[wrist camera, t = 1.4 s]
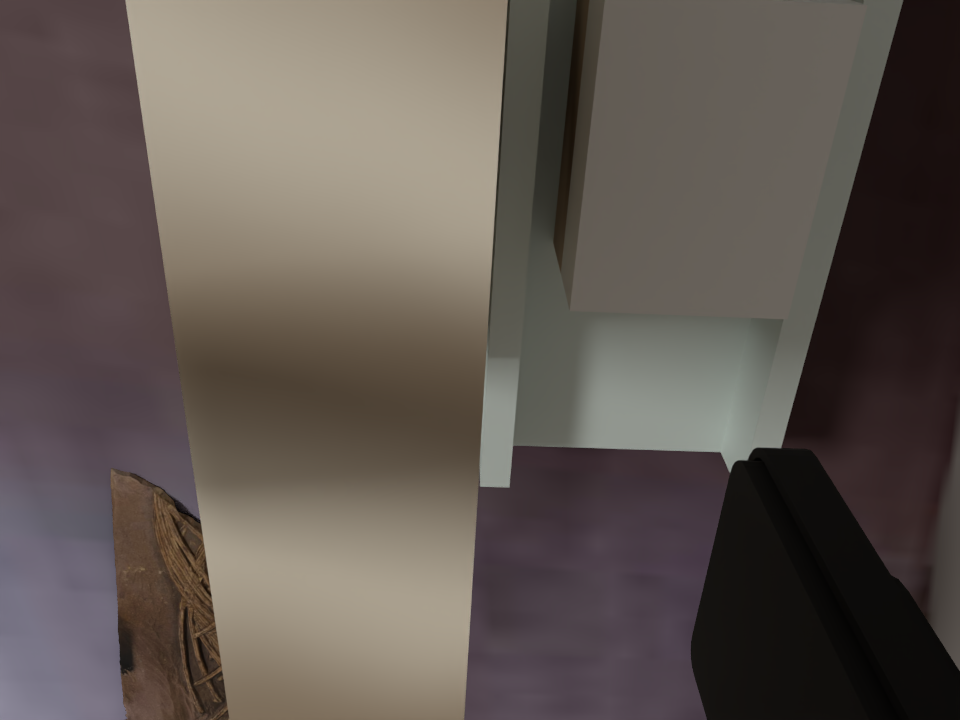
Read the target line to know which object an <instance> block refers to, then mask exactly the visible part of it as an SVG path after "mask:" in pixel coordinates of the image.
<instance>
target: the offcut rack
mask: <svg viewBox="0 0 960 720" xmlns="http://www.w3.org/2000/svg"><path fill="white" fill-rule="evenodd" d="M851 1H855V2H858V3H861V4H864V5H867V9H866V13H865V17H864V21H863V25H862V29H861V33H860V37H859V41H858V45H857V49H856V52H855V56H854V60H853V64H852V68H851V72H850V76H849V80H848V84H847V88H846V92H845V96H844V100H843V104H842V107H841V111H840V115H839V119H838V123H837V127H836V131H835V135H834V139H833V143H832V147H831V151H830V155H829V159H828V162H827V166H826V170H825V174H824V178H823V182H822V186H821V190H820V194H819V198H818V202H817V206H816V210H815V213H814V217H813V221H812V225H811V229H810V233H809V237H808V241H807V245H806V249H805V253H804V257H803V261H802V265H801V268H800V272H799V276H798V280H797V284H796V288H795V292H794V296H793V300H792V304H791V308H790V312H789V316H788V319H764V318H738V317H712V316H686V315H660V314H634V313H608V312H581V311H570V310H569V306H568V302H567V298H566V294H565V289H564V285H563V281H562V277H561V273H560V269H559V265H558V261H557V256H556V252H555V248H554V244H553V239H554V229H555V219H556V209H557V199H558V188H559V178H560V168H561V158H562V148H563V137H564V127H565V117H566V107H567V97H568V86H569V76H570V66H571V56H572V45H573V35H574V25H575V15H576V5H577V0H508V3H507V20H506V36H505V53H504V69H503V86H502V102H501V119H500V135H499V152H498V168H497V184H496V201H495V217H494V234H493V250H492V267H491V283H490V300H489V316H488V333H487V349H486V366H485V382H484V398H483V415H482V431H481V448H480V486H481V487H509V485H510V473H511V461H512V449H513V445H517V446H548V447H579V448H610V449H641V450H672V451H703V452H721V454H722V456H723V458H724V461H725V463H726V465H727V467H728V470H729V472H731V469H732V466H733V464H734V463H735V462H736V461H738V460H748V458H749V455H750V454H751V452H752V450H753V449H755V448H757V447H760V448H781V446H782V442H783V439H784V435H785V431H786V428H787V424H788V420H789V417H790V413H791V409H792V406H793V402H794V398H795V395H796V391H797V387H798V384H799V380H800V376H801V373H802V369H803V365H804V362H805V358H806V354H807V351H808V347H809V343H810V340H811V336H812V332H813V329H814V325H815V321H816V318H817V314H818V310H819V307H820V303H821V299H822V296H823V292H824V288H825V285H826V281H827V277H828V274H829V270H830V266H831V263H832V259H833V255H834V252H835V248H836V244H837V241H838V237H839V234H840V230H841V226H842V223H843V219H844V215H845V212H846V208H847V204H848V201H849V197H850V193H851V190H852V186H853V182H854V179H855V175H856V171H857V168H858V164H859V160H860V157H861V153H862V149H863V146H864V142H865V138H866V135H867V131H868V127H869V124H870V120H871V116H872V113H873V109H874V105H875V102H876V98H877V94H878V91H879V87H880V83H881V80H882V76H883V72H884V69H885V65H886V61H887V58H888V54H889V50H890V47H891V43H892V39H893V36H894V32H895V28H896V25H897V21H898V17H899V14H900V10H901V7H902V3H903V0H851Z"/></svg>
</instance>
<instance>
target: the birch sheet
mask: <svg viewBox="0 0 960 720" xmlns="http://www.w3.org/2000/svg"><path fill="white" fill-rule="evenodd" d="M507 3H508V0H126V7H127V14H128V21H129V28H130V35H131V42H132V49H133V56H134V62H135V69H136V76H137V83H138V90H139V97H140V104H141V111H142V118H143V125H144V132H145V139H146V146H147V152H148V159H149V166H150V173H151V180H152V187H153V194H154V201H155V208H156V215H157V222H158V229H159V236H160V242H161V249H162V256H163V263H164V270H165V277H166V284H167V291H168V298H169V305H170V312H171V319H172V326H173V332H174V339H175V346H176V353H177V360H178V367H179V374H180V381H181V388H182V395H183V402H184V409H185V416H186V422H187V429H188V436H189V443H190V450H191V457H192V464H193V471H194V478H195V485H196V492H197V499H198V506H199V512H200V519H201V526H202V533H203V540H204V547H205V554H206V561H207V568H208V575H209V582H210V589H211V595H212V602H213V609H214V616H215V623H216V630H217V637H218V644H219V651H220V658H221V665H222V672H223V679H224V685H225V692H226V699H227V706H228V713H229V720H464V711H465V695H466V678H467V662H468V645H469V629H470V612H471V596H472V580H473V563H474V547H475V530H476V514H477V497H478V481H479V464H480V448H481V431H482V415H483V398H484V382H485V366H486V349H487V333H488V316H489V300H490V283H491V267H492V250H493V234H494V217H495V201H496V184H497V168H498V152H499V135H500V119H501V102H502V86H503V69H504V53H505V36H506V20H507Z"/></svg>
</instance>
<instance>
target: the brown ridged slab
mask: <svg viewBox="0 0 960 720" xmlns="http://www.w3.org/2000/svg"><path fill="white" fill-rule="evenodd" d="M111 490H112V505H113V509H112V511H113V536H114V550H115V566H116V583H117V597H118V599H117V600H118V634H119V644H120V666H121V678H122V687H123V688H122V690H123V697H124V698H123V704H124V707H125V708H126V710H125V711H127V714H126V717H127V718H128V719H126V720H229V713H228V706H227V699H226V692H225V685H224V679H223V672H222V665H221V658H220V651H219V644H218V637H217V630H216V623H215V616H214V609H213V602H212V595H211V589H210V582H209V575H208V568H207V561H206V554H205V547H204V540H203V533H202V526H201V524H199V523H198V522H196V521H195V520H194V519H193V518H192V517H190V516H188V515H186V514H183V513H180V512H178V511H177V509H176V507H175V503H174V500H172V499H171V498H170V497H169V496H168V495H167V494H166V493H165V492H164V491H163V490H162V489H160V488H159V487H156V486H154V485H153V484H151V483H150V482H148V481H146V480H144V479H142V478H140V477H138V476H137V475H135V474H132V473H130V472H123V471H120V470H117V469H114V468H111Z"/></svg>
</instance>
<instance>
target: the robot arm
mask: <svg viewBox="0 0 960 720" xmlns="http://www.w3.org/2000/svg"><path fill="white" fill-rule="evenodd" d="M691 661H692V668H693V672H694V676H695V680H696V683H697V686H698V690H699V693H700V697H701V700H702V703H703V707H704V710H705V714H706V717H707V720H960V671H959V670H958V668H957V667H956V665H955V663H954V662H953V660H952V659H951V657H950V656H949V654H948V652H947V651H946V649H945V648H944V646H943V644H942V643H941V641H940V640H939V638H938V637H937V635H936V634H935V632H934V630H933V629H932V627H931V626H930V624H929V623H928V621H927V619H926V618H925V616H924V615H923V613H922V612H921V610H920V609H919V607H918V605H917V604H916V602H915V601H914V599H913V598H912V596H911V594H910V593H909V591H908V590H907V589H906V588H905V586H904V585H903V584H902V583H901V582H900V581H899V579H897V578H895V577H893V576H891V575H890V573H889V571H888V570H887V568H886V567H885V565H884V563H883V562H882V560H881V559H880V557H879V556H878V554H877V552H876V551H875V549H874V548H873V546H872V544H871V543H870V541H869V540H868V538H867V536H866V535H865V533H864V532H863V530H862V528H861V527H860V525H859V524H858V522H857V521H856V519H855V517H854V516H853V514H852V513H851V511H850V509H849V508H848V506H847V505H846V503H845V501H844V500H843V498H842V497H841V495H840V493H839V492H838V490H837V489H836V487H835V486H834V484H833V482H832V481H831V479H830V478H829V476H828V474H827V473H826V471H825V470H824V468H823V466H822V465H821V463H820V462H819V460H818V458H817V457H816V456H815V454H814V453H813V452H812V451H811V450H807V449H790V448H760V447H757V448H755V449H753V450H752V452H751V454H750V455H749V458H748V460H738V461H736V462H735V463H734V464H733V466H732V469H731V472H730V476H729V480H728V485H727V489H726V493H725V498H724V502H723V506H722V510H721V515H720V519H719V523H718V528H717V532H716V536H715V541H714V545H713V549H712V553H711V558H710V562H709V566H708V571H707V575H706V579H705V583H704V588H703V592H702V596H701V601H700V605H699V609H698V613H697V618H696V622H695V626H694V631H693V635H692V641H691Z"/></svg>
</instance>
